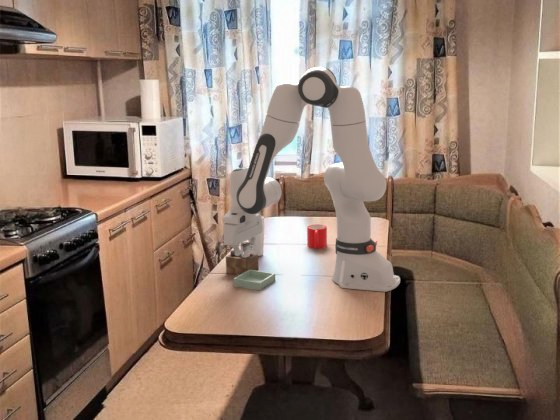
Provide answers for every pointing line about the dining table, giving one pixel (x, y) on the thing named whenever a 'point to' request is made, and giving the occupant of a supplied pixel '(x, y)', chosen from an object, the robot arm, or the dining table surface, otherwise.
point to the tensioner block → (241, 263)
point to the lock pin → (245, 250)
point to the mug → (317, 236)
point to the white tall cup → (259, 242)
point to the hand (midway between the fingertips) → (244, 251)
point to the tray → (254, 279)
